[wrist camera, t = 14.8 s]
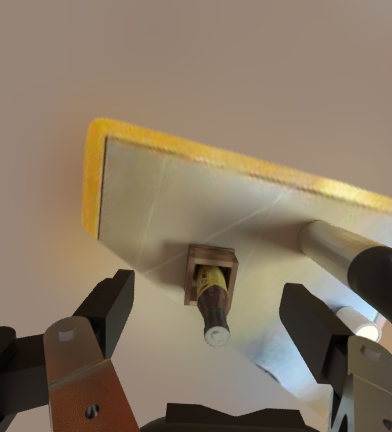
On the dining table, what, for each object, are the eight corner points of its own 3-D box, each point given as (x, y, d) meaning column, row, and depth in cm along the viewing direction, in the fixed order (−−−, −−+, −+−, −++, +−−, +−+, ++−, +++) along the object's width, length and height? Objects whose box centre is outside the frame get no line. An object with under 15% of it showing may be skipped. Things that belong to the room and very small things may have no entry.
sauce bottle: (200, 256, 50) (204, 312, 31) (225, 263, 51) (244, 321, 31) (193, 280, 52) (192, 347, 32) (217, 286, 52) (230, 356, 33)
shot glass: (360, 303, 54) (384, 322, 48) (357, 325, 56) (380, 347, 49) (334, 304, 55) (354, 324, 48) (331, 327, 56) (350, 349, 49)
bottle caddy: (234, 249, 51) (240, 261, 44) (226, 292, 54) (231, 310, 47) (189, 244, 51) (188, 256, 44) (184, 288, 53) (182, 305, 46)
